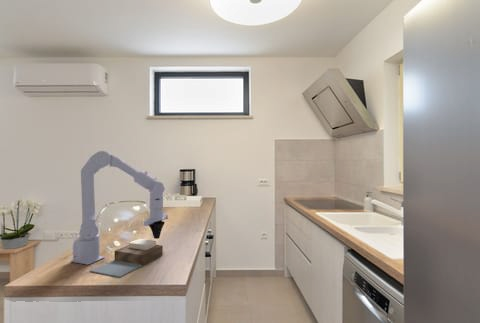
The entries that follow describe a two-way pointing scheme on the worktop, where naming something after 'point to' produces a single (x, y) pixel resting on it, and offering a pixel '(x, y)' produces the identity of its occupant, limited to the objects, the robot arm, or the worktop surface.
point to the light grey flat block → (142, 244)
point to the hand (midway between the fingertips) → (156, 238)
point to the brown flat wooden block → (138, 254)
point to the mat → (116, 268)
